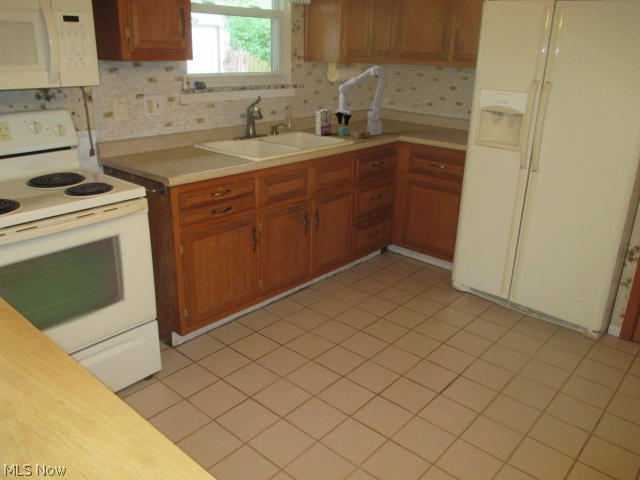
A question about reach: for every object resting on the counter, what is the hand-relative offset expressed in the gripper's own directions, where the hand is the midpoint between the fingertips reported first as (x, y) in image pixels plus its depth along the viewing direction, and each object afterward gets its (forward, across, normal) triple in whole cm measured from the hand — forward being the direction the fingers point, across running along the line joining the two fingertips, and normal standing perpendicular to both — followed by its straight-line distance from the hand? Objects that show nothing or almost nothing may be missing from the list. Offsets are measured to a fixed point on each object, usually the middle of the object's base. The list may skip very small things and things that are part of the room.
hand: (343, 124), depth 354 cm
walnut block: (+7, +12, +5) cm, 15 cm away
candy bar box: (+7, -6, -11) cm, 15 cm away
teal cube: (+7, 0, 0) cm, 7 cm away
